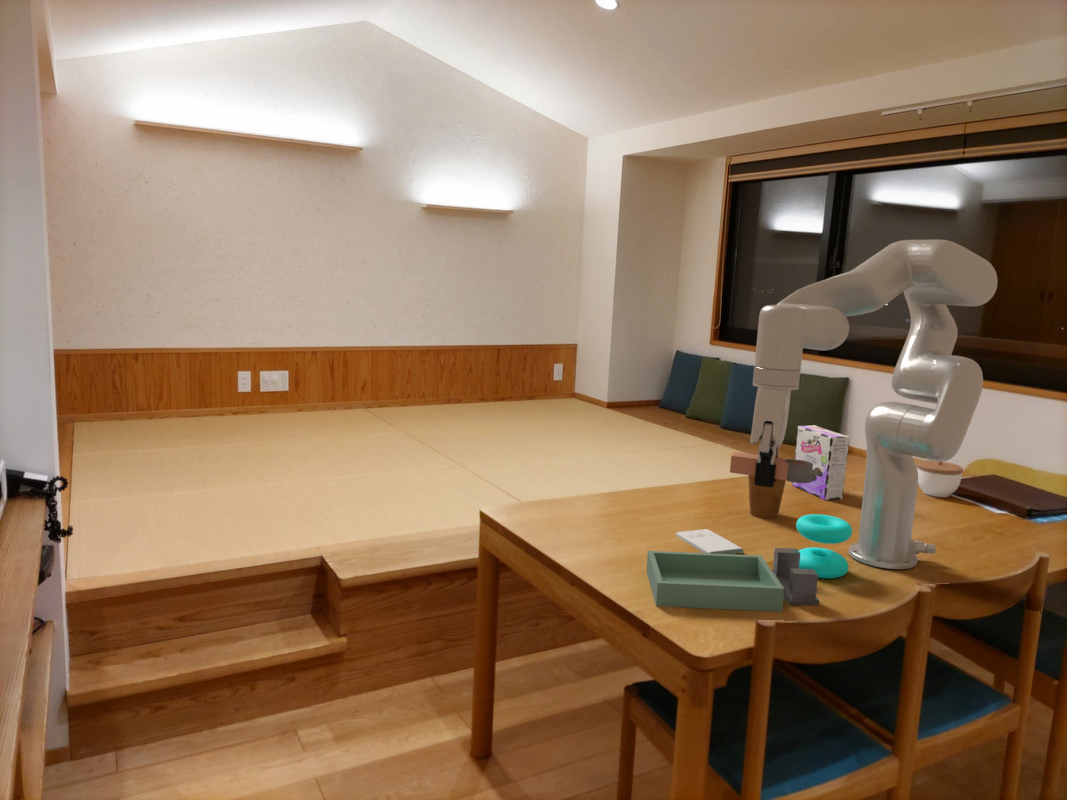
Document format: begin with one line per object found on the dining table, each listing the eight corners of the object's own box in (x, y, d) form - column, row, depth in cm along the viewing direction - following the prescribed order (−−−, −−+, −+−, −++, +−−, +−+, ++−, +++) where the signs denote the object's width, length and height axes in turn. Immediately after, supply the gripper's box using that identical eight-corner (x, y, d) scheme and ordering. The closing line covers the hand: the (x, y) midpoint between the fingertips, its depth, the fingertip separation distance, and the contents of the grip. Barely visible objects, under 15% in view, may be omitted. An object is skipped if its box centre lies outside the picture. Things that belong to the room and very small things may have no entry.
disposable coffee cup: (780, 509, 187) (784, 460, 185) (789, 522, 178) (793, 471, 176) (739, 506, 188) (743, 458, 186) (746, 519, 179) (750, 468, 177)
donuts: (862, 521, 148) (838, 533, 141) (856, 571, 149) (833, 585, 142) (811, 509, 155) (787, 519, 148) (807, 557, 156) (782, 569, 149)
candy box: (791, 485, 209) (796, 425, 206) (809, 484, 210) (815, 424, 207) (824, 500, 196) (830, 436, 193) (844, 499, 197) (850, 435, 195)
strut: (729, 473, 135) (730, 456, 135) (733, 467, 140) (735, 451, 139) (810, 484, 130) (811, 467, 130) (812, 478, 134) (813, 461, 134)
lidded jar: (917, 497, 201) (921, 461, 200) (910, 486, 211) (914, 452, 210) (963, 502, 198) (968, 466, 197) (954, 490, 208) (958, 456, 207)
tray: (759, 576, 145) (761, 555, 144) (782, 611, 130) (784, 588, 130) (646, 571, 146) (647, 550, 145) (656, 606, 131) (657, 582, 130)
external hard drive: (708, 559, 154) (675, 538, 166) (742, 555, 157) (708, 535, 169) (708, 552, 154) (675, 531, 166) (743, 548, 157) (708, 528, 168)
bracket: (769, 575, 146) (771, 547, 145) (796, 576, 146) (798, 548, 145) (789, 604, 133) (791, 574, 132) (818, 606, 133) (821, 575, 132)
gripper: (759, 371, 141) (750, 470, 144) (746, 381, 126) (735, 491, 129) (803, 375, 139) (792, 476, 141) (794, 386, 123) (783, 498, 126)
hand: (765, 482), depth 135 cm, fingers closed on strut, 3 cm apart
